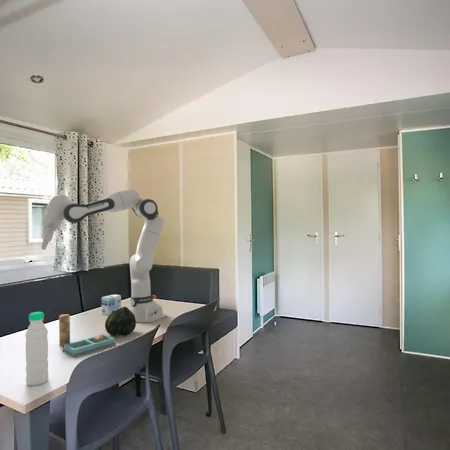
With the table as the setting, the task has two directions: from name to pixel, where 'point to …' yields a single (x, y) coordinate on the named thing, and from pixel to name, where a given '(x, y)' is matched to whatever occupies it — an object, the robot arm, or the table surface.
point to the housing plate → (88, 345)
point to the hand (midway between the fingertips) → (43, 249)
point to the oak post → (64, 329)
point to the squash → (120, 322)
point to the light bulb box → (111, 304)
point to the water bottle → (36, 350)
